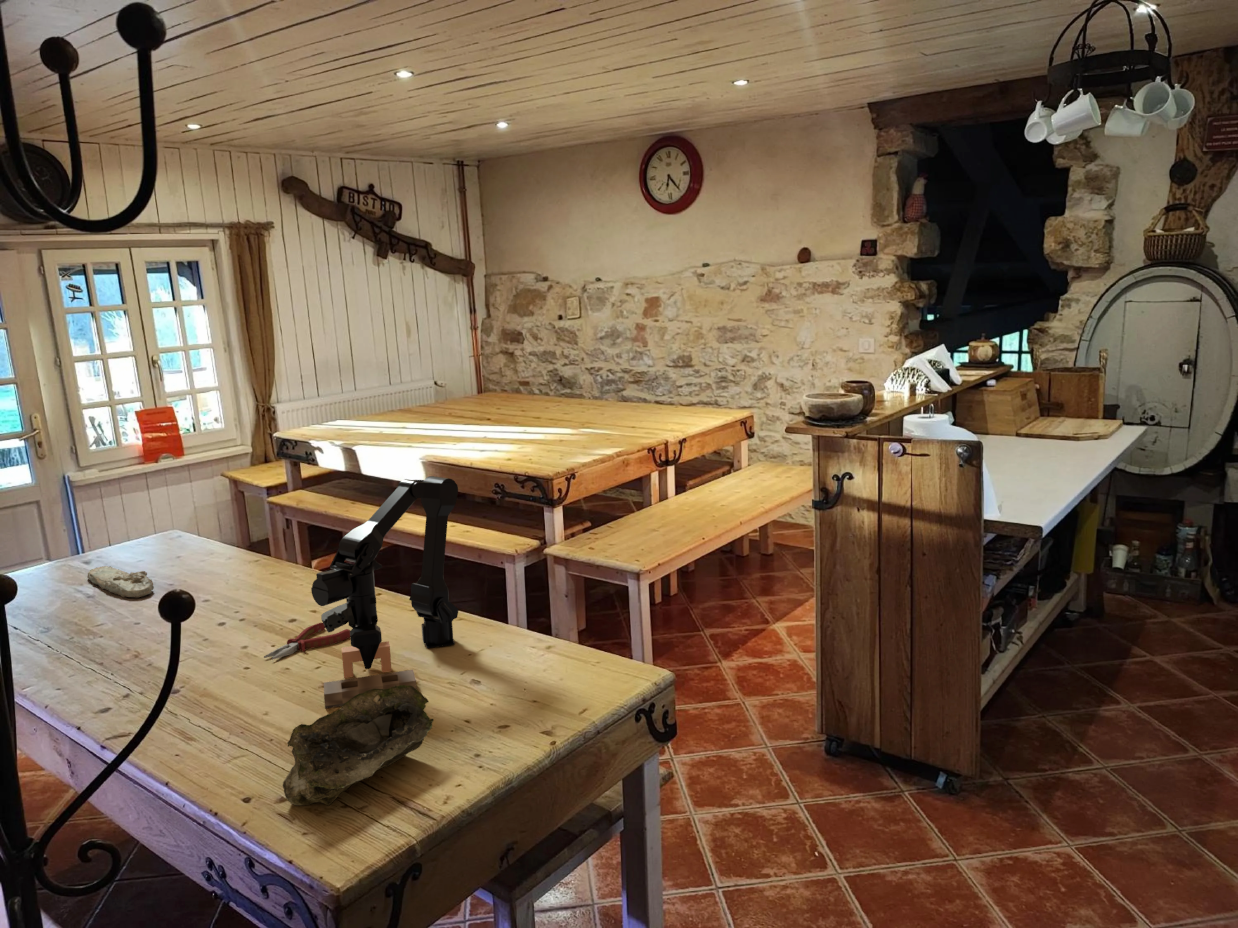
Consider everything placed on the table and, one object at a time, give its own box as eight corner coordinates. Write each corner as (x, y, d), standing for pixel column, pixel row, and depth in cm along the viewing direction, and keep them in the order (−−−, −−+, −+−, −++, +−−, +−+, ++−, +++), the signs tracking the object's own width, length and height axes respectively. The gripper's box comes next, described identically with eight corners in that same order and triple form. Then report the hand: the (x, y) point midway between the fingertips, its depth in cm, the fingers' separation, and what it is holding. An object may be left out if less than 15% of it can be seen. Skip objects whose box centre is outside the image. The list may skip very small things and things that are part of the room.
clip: (390, 666, 199) (388, 641, 198) (391, 671, 196) (389, 645, 195) (343, 673, 196) (341, 647, 195) (344, 678, 193) (341, 652, 192)
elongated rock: (115, 576, 276) (80, 586, 269) (111, 559, 275) (76, 569, 268) (164, 591, 254) (128, 603, 246) (161, 573, 253) (124, 584, 245)
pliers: (252, 658, 207) (251, 647, 206) (321, 629, 224) (320, 620, 223) (285, 668, 201) (284, 657, 201) (353, 638, 218) (353, 628, 217)
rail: (413, 682, 190) (413, 669, 190) (416, 694, 185) (416, 680, 184) (324, 696, 185) (323, 682, 184) (325, 708, 179) (323, 694, 179)
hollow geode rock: (426, 767, 165) (389, 696, 170) (457, 737, 158) (418, 664, 163) (285, 833, 144) (248, 750, 149) (313, 802, 137) (273, 716, 142)
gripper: (321, 584, 199) (327, 650, 202) (322, 611, 181) (328, 683, 184) (373, 578, 202) (378, 643, 205) (379, 604, 185) (384, 675, 188)
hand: (366, 660), depth 196 cm, fingers open, 8 cm apart
